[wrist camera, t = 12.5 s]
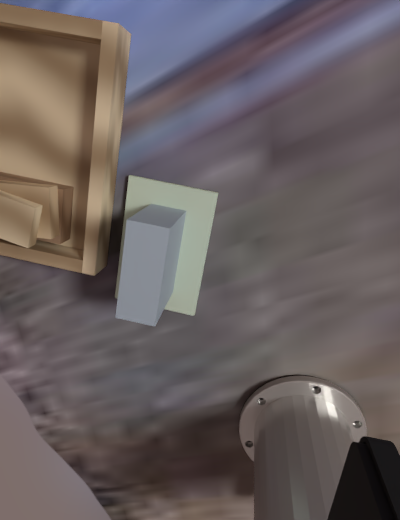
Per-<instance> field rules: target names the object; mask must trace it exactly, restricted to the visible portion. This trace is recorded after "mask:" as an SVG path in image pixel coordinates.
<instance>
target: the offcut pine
mask: <svg viewBox="0 0 400 520" xmlns="http://www.w3.org/2000/svg"><path fill="white" fill-rule="evenodd" d="M42 207H43V205H40V204H37V203H34V202H32V201H29V200H26V199H23V198H21V197H18V196H15V195H12V194H9V193H7V192H4V191H1V190H0V238H1V239H3V240H6V241H9V242H12V243H15V244H17V245H20V246H23V247H26V248H29V247H31V246H33V245H35V244H36V239H37V234H38V228H39V223H40V217H41V212H42Z"/></svg>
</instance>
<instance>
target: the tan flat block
mask: <svg viewBox="0 0 400 520" xmlns="http://www.w3.org/2000/svg"><path fill="white" fill-rule="evenodd" d="M0 180H6V181H16V182H27V183H37V184H48V185H57V187H58V210H59V233H60V235H59V236H57V237H55V238H53V239H44V238H37V240H42V241H46V242H51V243H55V244H62V243H64V242H65V241H67V240H69V239H70V233H71V219H72V205H73V190H74V187H72V186H67V185H63V184H58V183H53V182H48V181H43V180H38V179H34V178H29V177H24V176H19V175H14V174H9V173H4V172H0Z"/></svg>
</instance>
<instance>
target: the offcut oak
mask: <svg viewBox="0 0 400 520" xmlns="http://www.w3.org/2000/svg"><path fill="white" fill-rule="evenodd" d="M0 190H1V191H4V192H7V193H9V194H12V195H15V196H18V197H21V198H23V199H26V200H29V201H32V202H34V203H37V204H40V205H43V207H42V212H41V217H40V223H39V228H38V234H37V238H44V239H53V238H55V237H57V236H59V235H60V233H59V210H58V187H57V185H48V184H37V183H27V182H16V181H6V180H0Z"/></svg>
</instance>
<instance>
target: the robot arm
mask: <svg viewBox="0 0 400 520" xmlns="http://www.w3.org/2000/svg"><path fill="white" fill-rule="evenodd" d="M239 435H240V440H241V444H242V446H243V448H244V450H245V452H246V453H247V455H248V456H249V458H250V459H251V460H252V461H253V462H254V520H400V455H399V453H398V451H397V449H396V447H395V445H394V444H393V443H392V442H391V441H386V440H381V439H376V438H371V437H367V428H366V423H365V419H364V417H363V414H362V412H361V409H360V408H359V406H358V405H357V403H356V401H355V400H354V399H353V398H352V397H351V396H350V395H349V394H348V393H347V392H346V391H345V390H343V389H342V388H340V387H339V386H337V385H335V384H333V383H331V382H329V381H327V380H323V379H320V378H316V377H310V376H289V377H284V378H279V379H276V380H274V381H271V382H269V383H266V384H265V385H263V386H262V387H260V388H258V389H257V390H256V391H255V392H254V393H253V394H252V395H251V396H250V397H249V398H248V400H247V401H246V403H245V404H244V406H243V409H242V411H241V414H240V421H239Z"/></svg>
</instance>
